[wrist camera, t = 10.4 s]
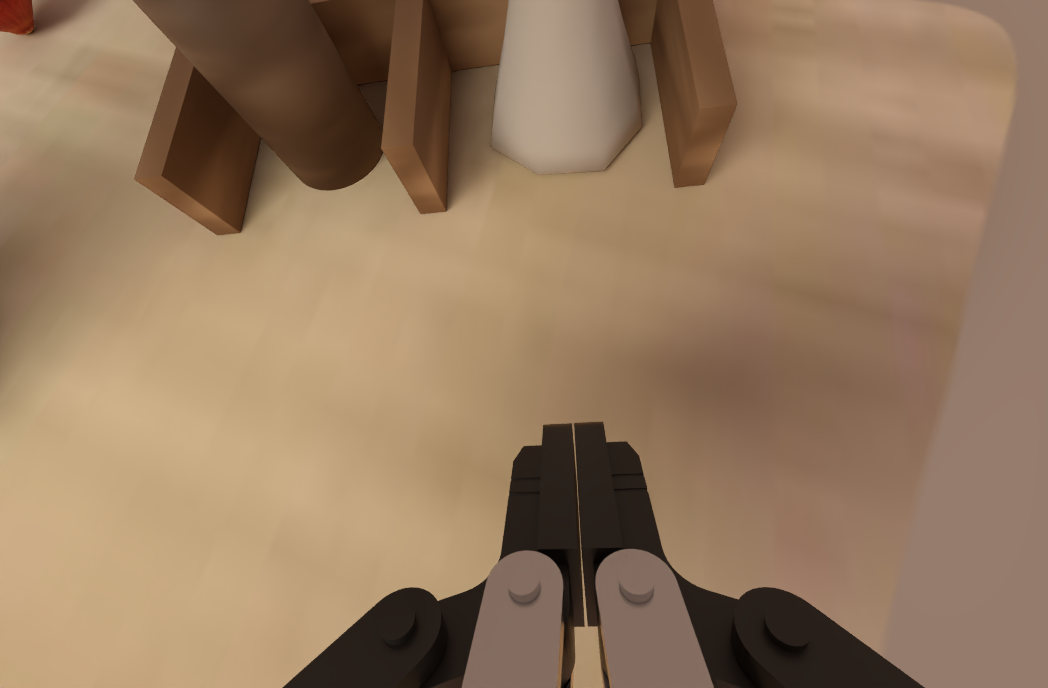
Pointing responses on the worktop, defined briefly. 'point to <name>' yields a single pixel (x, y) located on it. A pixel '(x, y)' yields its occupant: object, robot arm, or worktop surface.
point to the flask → (565, 86)
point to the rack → (426, 97)
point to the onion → (16, 16)
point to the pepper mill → (279, 81)
